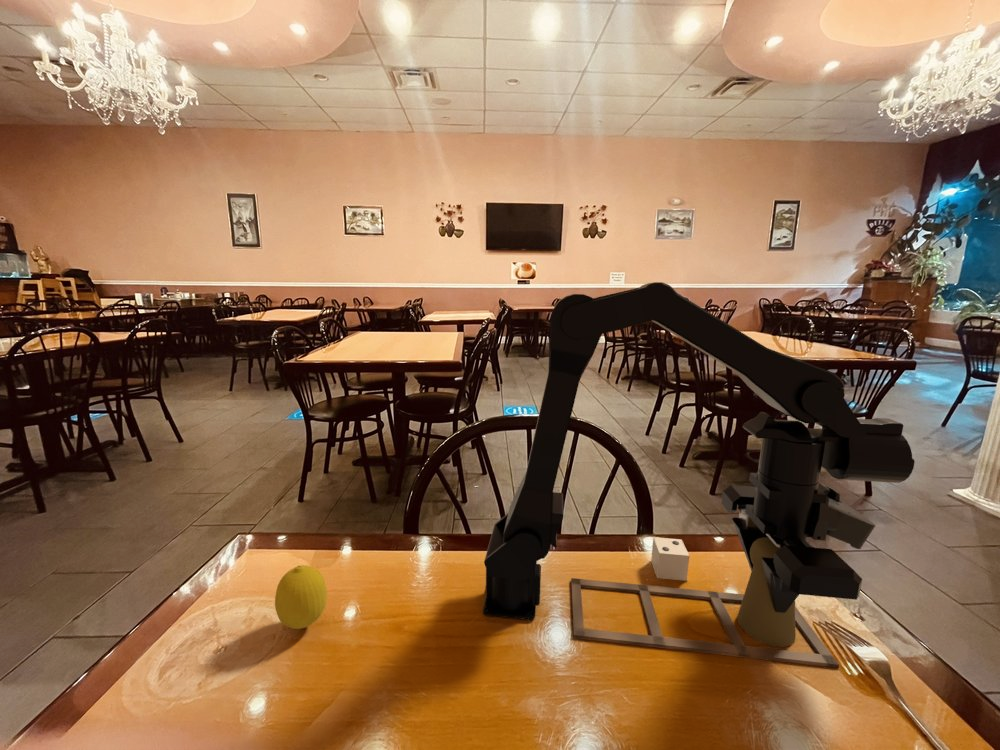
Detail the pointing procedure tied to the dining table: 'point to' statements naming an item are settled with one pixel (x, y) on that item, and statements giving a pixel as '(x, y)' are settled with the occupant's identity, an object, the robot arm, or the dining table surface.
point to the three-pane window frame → (659, 641)
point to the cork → (764, 603)
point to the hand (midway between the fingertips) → (769, 597)
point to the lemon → (300, 597)
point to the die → (670, 559)
